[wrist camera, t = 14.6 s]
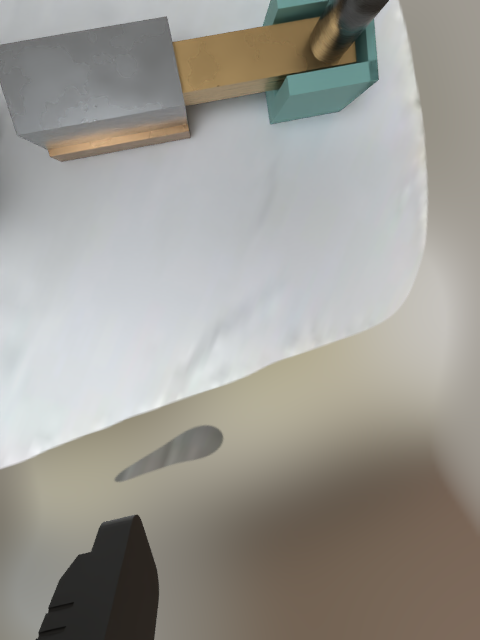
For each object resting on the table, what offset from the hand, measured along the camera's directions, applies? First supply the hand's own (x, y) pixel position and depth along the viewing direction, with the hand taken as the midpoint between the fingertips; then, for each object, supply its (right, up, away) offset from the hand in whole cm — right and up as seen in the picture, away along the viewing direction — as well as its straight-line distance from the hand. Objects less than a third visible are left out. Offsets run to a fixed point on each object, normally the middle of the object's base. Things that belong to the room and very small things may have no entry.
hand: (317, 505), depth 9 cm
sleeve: (-12, +21, +22) cm, 33 cm away
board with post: (-1, +23, +19) cm, 30 cm away
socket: (+3, +25, +23) cm, 34 cm away
